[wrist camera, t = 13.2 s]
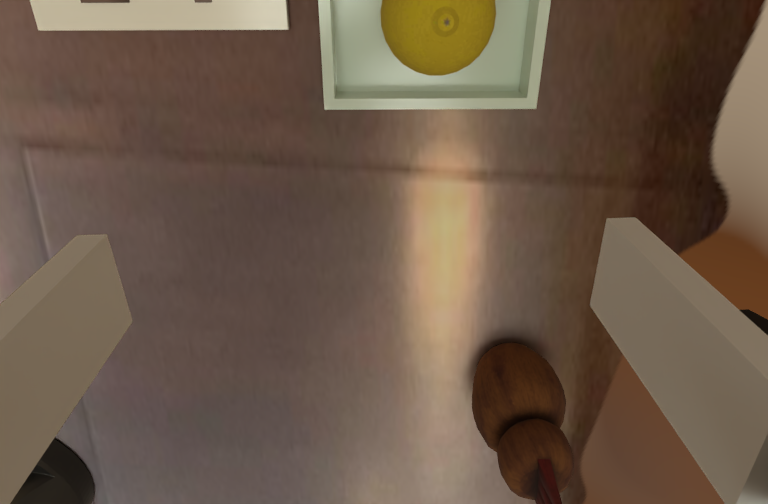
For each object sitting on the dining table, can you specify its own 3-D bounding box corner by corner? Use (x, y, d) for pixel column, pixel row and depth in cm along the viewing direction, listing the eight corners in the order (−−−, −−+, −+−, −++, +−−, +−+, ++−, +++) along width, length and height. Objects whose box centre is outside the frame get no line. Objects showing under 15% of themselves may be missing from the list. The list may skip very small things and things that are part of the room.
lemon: (475, 62, 30) (504, 90, 23) (380, 61, 30) (380, 89, 23) (485, -48, 28) (520, -54, 21) (380, -49, 28) (380, -55, 21)
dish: (328, 99, 32) (324, 109, 30) (317, -107, 27) (311, -114, 25) (525, 98, 32) (536, 108, 30) (550, -107, 27) (566, -114, 25)
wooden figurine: (487, 321, 40) (540, 495, 27) (555, 338, 41) (639, 516, 28) (455, 385, 43) (489, 570, 30) (520, 400, 44) (580, 586, 31)
